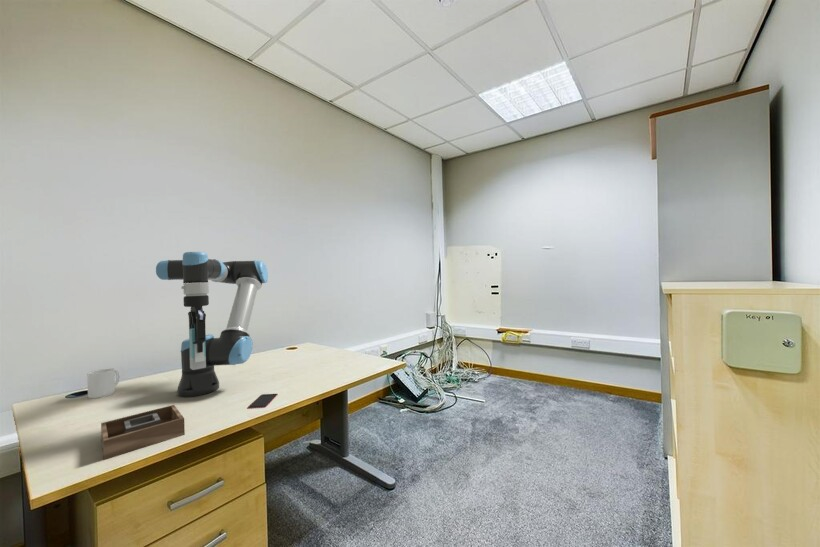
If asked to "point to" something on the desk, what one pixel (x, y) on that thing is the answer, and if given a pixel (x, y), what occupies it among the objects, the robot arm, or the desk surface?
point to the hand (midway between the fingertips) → (197, 360)
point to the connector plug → (194, 364)
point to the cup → (102, 382)
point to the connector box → (141, 430)
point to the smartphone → (262, 401)
